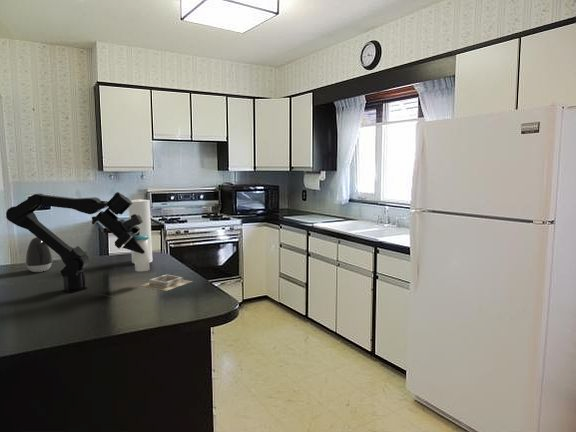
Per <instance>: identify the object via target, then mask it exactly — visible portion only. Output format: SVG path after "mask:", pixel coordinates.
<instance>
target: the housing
mask: <svg viewBox="0 0 576 432" xmlns="http://www.w3.org/2000/svg"><path fill="white" fill-rule="evenodd" d="M193 282H194V281H193V280H188V279H184V276H179V275H172V274H163V275H160V276H157V277H154V278H151V279H148V282H147V283H144V284H141V285H139V286H140V287H144V288H145V287H146V288H149V289H154V290H160V291H164V292H168V291H171V290H173V289H176V288H178V287H181V286H184V285H187V284H190V283H193Z"/></svg>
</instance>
